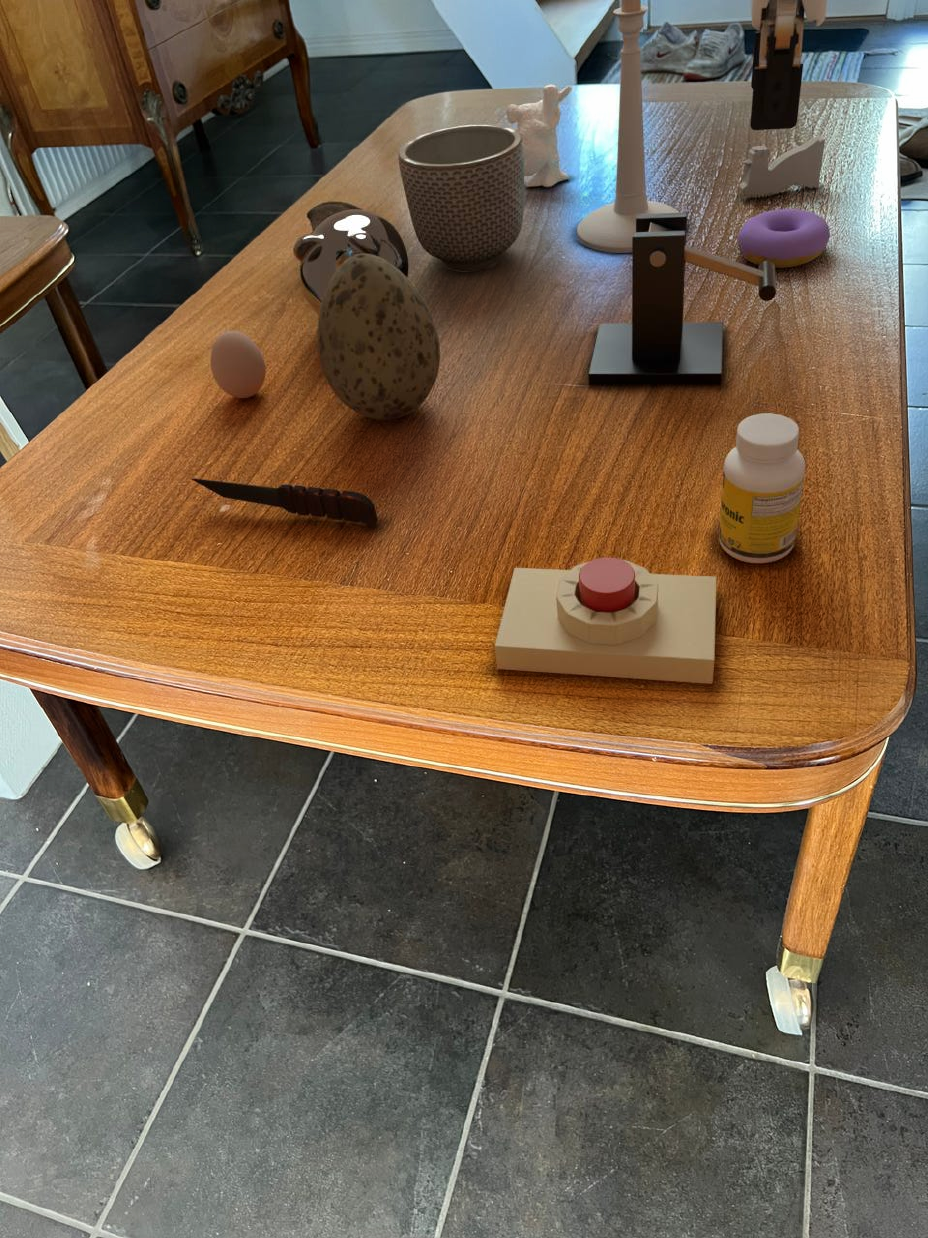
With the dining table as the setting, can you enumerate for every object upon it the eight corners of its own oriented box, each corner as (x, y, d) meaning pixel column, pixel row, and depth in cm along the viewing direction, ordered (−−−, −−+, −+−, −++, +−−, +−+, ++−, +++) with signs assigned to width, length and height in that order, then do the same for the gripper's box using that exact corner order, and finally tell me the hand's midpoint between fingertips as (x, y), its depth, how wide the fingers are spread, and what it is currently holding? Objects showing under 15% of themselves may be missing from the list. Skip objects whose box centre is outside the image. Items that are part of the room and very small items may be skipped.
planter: (536, 232, 117) (529, 118, 108) (524, 282, 107) (515, 161, 98) (426, 239, 120) (410, 128, 111) (404, 288, 110) (385, 170, 101)
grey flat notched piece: (818, 188, 117) (739, 201, 117) (813, 184, 118) (734, 197, 118) (825, 138, 113) (743, 151, 113) (820, 135, 114) (739, 148, 114)
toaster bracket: (722, 332, 94) (732, 199, 85) (721, 385, 87) (731, 245, 78) (599, 334, 96) (597, 205, 88) (588, 385, 89) (584, 250, 81)
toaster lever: (767, 282, 87) (780, 258, 85) (768, 308, 83) (781, 283, 82) (641, 241, 87) (651, 215, 85) (637, 264, 83) (647, 238, 81)
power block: (714, 600, 66) (718, 555, 64) (712, 684, 61) (716, 639, 58) (516, 590, 70) (512, 547, 67) (497, 669, 64) (491, 626, 61)
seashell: (317, 234, 124) (318, 178, 119) (386, 244, 124) (389, 188, 120) (291, 287, 112) (291, 227, 107) (367, 297, 112) (370, 238, 108)
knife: (197, 506, 82) (186, 478, 80) (203, 500, 83) (192, 471, 81) (375, 529, 77) (368, 498, 75) (379, 522, 78) (372, 491, 76)
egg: (282, 392, 95) (264, 329, 91) (238, 414, 93) (218, 350, 88) (255, 377, 98) (236, 314, 94) (212, 397, 96) (191, 335, 92)
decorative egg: (322, 403, 93) (284, 251, 83) (425, 372, 95) (400, 220, 85) (354, 457, 85) (316, 296, 75) (465, 421, 87) (443, 260, 77)
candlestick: (648, 201, 120) (652, -92, 100) (707, 232, 111) (724, -83, 91) (558, 227, 117) (543, -68, 97) (610, 262, 108) (606, -56, 88)
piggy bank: (293, 357, 100) (265, 250, 93) (337, 293, 111) (315, 192, 103) (394, 357, 98) (373, 247, 90) (429, 292, 108) (414, 187, 100)
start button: (637, 578, 64) (637, 557, 62) (632, 614, 61) (632, 594, 60) (583, 575, 64) (582, 555, 63) (576, 611, 62) (575, 591, 61)
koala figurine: (578, 173, 130) (574, 75, 122) (571, 191, 126) (567, 91, 118) (517, 175, 132) (510, 80, 124) (508, 194, 128) (500, 95, 120)
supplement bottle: (711, 523, 72) (719, 411, 66) (783, 516, 72) (799, 402, 65) (725, 569, 68) (736, 454, 62) (802, 562, 68) (821, 446, 61)
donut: (801, 277, 99) (797, 229, 97) (723, 277, 106) (718, 233, 103) (847, 241, 104) (845, 195, 101) (770, 244, 110) (766, 201, 108)
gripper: (873, -181, 54) (830, 142, 65) (853, -206, 66) (819, 71, 78) (736, -163, 56) (717, 148, 67) (740, -191, 68) (724, 77, 79)
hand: (772, 106), depth 72 cm, fingers open, 9 cm apart
